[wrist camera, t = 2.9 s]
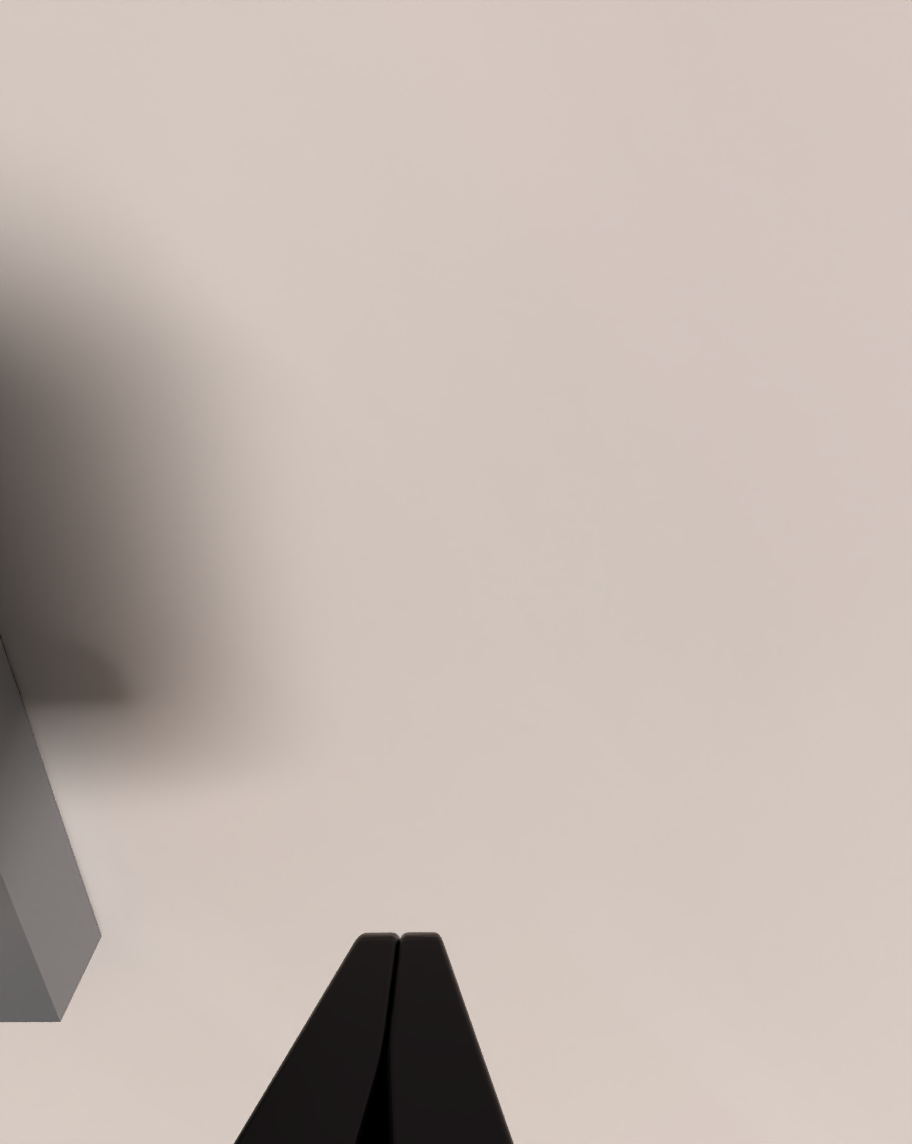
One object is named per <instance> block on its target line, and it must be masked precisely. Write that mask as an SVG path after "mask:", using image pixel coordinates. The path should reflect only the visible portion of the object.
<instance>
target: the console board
mask: <svg viewBox="0 0 912 1144" xmlns="http://www.w3.org/2000/svg"><path fill="white" fill-rule="evenodd" d="M100 938H101V933H100V930H99V927H98V924H97V921H96V918H95V915H94V912H93V909H92V906H91V904H90V901H89V898H88V895H87V892H86V889H85V886H84V883H83V880H82V877H81V874H80V871H79V868H78V865H77V862H76V859H75V856H74V854H73V851H72V848H71V845H70V842H69V839H68V836H67V833H66V830H65V827H64V824H63V821H62V818H61V815H60V812H59V809H58V806H57V803H56V801H55V798H54V795H53V792H52V789H51V786H50V783H49V780H48V777H47V774H46V771H45V768H44V765H43V762H42V759H41V756H40V753H39V750H38V748H37V745H36V742H35V739H34V736H33V733H32V730H31V727H30V724H29V721H28V718H27V715H26V712H25V709H24V706H23V703H22V700H21V698H20V695H19V692H18V689H17V686H16V683H15V680H14V677H13V674H12V671H11V668H10V665H9V662H8V659H7V656H6V653H5V650H4V647H3V645H2V642H1V639H0V1022H61V1019H62V1017H63V1015H64V1013H65V1011H66V1009H67V1007H68V1005H69V1003H70V1001H71V999H72V997H73V995H74V992H75V990H76V988H77V986H78V984H79V982H80V980H81V978H82V976H83V974H84V972H85V970H86V968H87V965H88V963H89V961H90V959H91V957H92V955H93V953H94V951H95V949H96V947H97V945H98V943H99V941H100Z"/></svg>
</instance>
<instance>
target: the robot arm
mask: <svg viewBox="0 0 912 1144" xmlns="http://www.w3.org/2000/svg"><path fill="white" fill-rule="evenodd" d="M234 1144H514V1143H513V1141H512V1138H511V1135H510V1132H509V1129H508V1126H507V1123H506V1121H505V1118H504V1115H503V1112H502V1109H501V1106H500V1103H499V1101H498V1098H497V1095H496V1092H495V1089H494V1086H493V1083H492V1081H491V1078H490V1075H489V1072H488V1069H487V1066H486V1063H485V1061H484V1058H483V1055H482V1052H481V1049H480V1046H479V1043H478V1041H477V1038H476V1035H475V1032H474V1029H473V1026H472V1023H471V1020H470V1018H469V1015H468V1012H467V1009H466V1006H465V1003H464V1000H463V998H462V995H461V992H460V989H459V986H458V983H457V980H456V978H455V975H454V972H453V969H452V966H451V963H450V960H449V958H448V955H447V952H446V949H445V946H444V943H443V941H442V938H441V937H440V935H439V934H437V933H435V932H408V933H405V934H403V935H402V936H401V938H399V936H398V935H397V934H396V933H364V934H362V935H360V936H359V937H358V938H357V939H356V941H355V942H354V944H353V945H352V947H351V949H350V950H349V952H348V954H347V955H346V957H345V959H344V960H343V962H342V964H341V965H340V967H339V969H338V970H337V972H336V974H335V976H334V977H333V979H332V981H331V982H330V984H329V986H328V987H327V989H326V991H325V992H324V994H323V996H322V997H321V999H320V1001H319V1002H318V1004H317V1006H316V1007H315V1009H314V1011H313V1012H312V1014H311V1016H310V1017H309V1019H308V1021H307V1022H306V1024H305V1026H304V1027H303V1029H302V1031H301V1032H300V1034H299V1036H298V1037H297V1039H296V1041H295V1042H294V1044H293V1046H292V1047H291V1049H290V1051H289V1052H288V1054H287V1056H286V1057H285V1059H284V1061H283V1062H282V1064H281V1066H280V1067H279V1069H278V1071H277V1072H276V1074H275V1076H274V1077H273V1079H272V1081H271V1082H270V1084H269V1086H268V1087H267V1089H266V1091H265V1092H264V1094H263V1096H262V1097H261V1099H260V1101H259V1102H258V1104H257V1106H256V1107H255V1109H254V1111H253V1112H252V1114H251V1116H250V1117H249V1119H248V1121H247V1122H246V1124H245V1126H244V1127H243V1129H242V1131H241V1132H240V1134H239V1136H238V1138H237V1139H236V1141H235V1143H234Z"/></svg>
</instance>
